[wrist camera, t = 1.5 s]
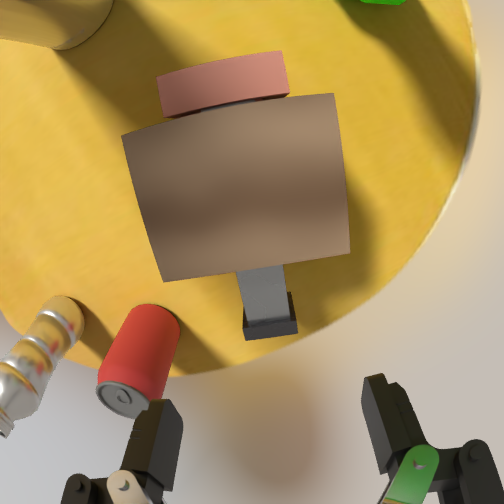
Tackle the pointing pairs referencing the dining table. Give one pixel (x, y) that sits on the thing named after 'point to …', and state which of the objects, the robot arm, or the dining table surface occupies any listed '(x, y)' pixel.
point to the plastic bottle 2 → (384, 1)
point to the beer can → (138, 361)
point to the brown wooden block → (242, 186)
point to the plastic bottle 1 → (37, 359)
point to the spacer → (223, 83)
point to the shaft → (264, 296)
